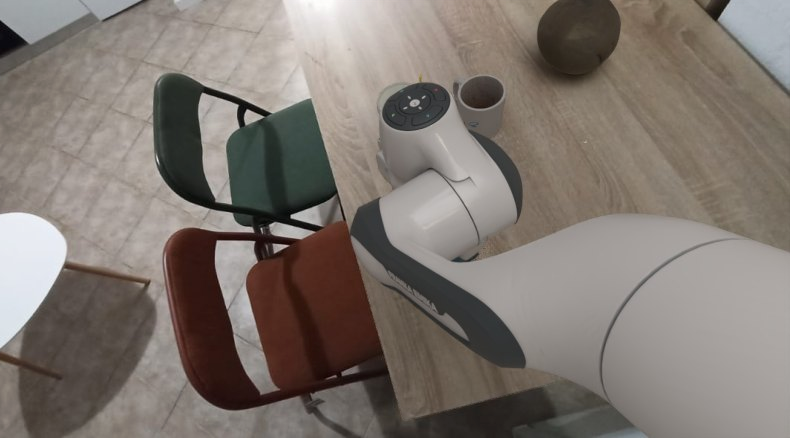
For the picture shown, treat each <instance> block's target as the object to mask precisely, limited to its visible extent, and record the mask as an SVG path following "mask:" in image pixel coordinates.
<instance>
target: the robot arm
mask: <svg viewBox="0 0 790 438" xmlns="http://www.w3.org/2000/svg"><path fill="white" fill-rule="evenodd" d="M411 84H412V85H409V86H407V87H405V88H403V89H401V90H399V91H398V92H396V93H394V94H393V95H392V96H390V97H389V98H388V99H387V100H386V102H385V103H384V105H383V107H382V109H381V112H380V115H379V117H378V133H379V137H378V139H377V141H376V142H377V145H378V148H379V151H378V152H377V153H376V155H375V161H376V166H377V170H378V172H379V174H380V175H381V176H382V177H383V179H384V180H385V181H386V182H387V183H389V185H390V187H391V191H390V192H388V193H386V194H384V195H382V196H379V197H377V198H375V199H373V200H371V201H369V202H366V203H364V204H362V205H361V206H358V207H357V210H356V212H355V214H354V217H353V220H352V222H351V226H350V230H349V238H350V242H351V246H352V249H353V252H354V253H355V255H356V257H357V259H358V261H359V263H360V264H361V266H362V267H363V268H364V269H365V271H366V272H367V273H368V274H369V275H370V276H371V277H372V278H373V279H375V280H376V281H378V282H379V283H380V284H381V285H382V286H383V287H385V288H387V289H389V290H392V291H394V292H396V293H397V294H398V295H400V296H401V297H403V298H404V299H405V300H407V301H408V302H409V303H410V304H412V306H414V307H415V308H416V309H418V310H419V311H420V312H421V313H422V314H424V315H425V316H426V317H428V319H430V320H431V321H432V322H433V323H435V324H436V325H437V326H438V327H440V328H441V329H442V330H444V331H445V332H446V333H448V334H449V335H450V336H451V337H452V338H454V339H455V340H456V341H458V342H459V343H461V344H462V345H464V346H465V347H466V348H467V349H469V350H470V351H472V352H473V353H474V354H476V355H478V356H479V357H481V358H482V359H484V360H485V361H488V362H489V363H491V364H493V365H494V366H496V367H499V368H502V369H528V370H534V371H538V372H541V373H545V374H550V375H551V376H552V375H553V376H555V377H559V378H561V379H564V380H566V381H569V382H572V383H573V384H576V385H578V386H580V387H583V388H584V389H586V390H589V391H590V392H592V393H593V394H595V395H597V396H598V397H600V398H602V399H603V400H604V401H606V402H607V403H609V404H610V405H611V406H612V407H613V408H614V409H616V411H617V412H618V413H619V414H620V415H622V416H623V417H624V418H625V419H626V420H628V421H629V422H630V423H631V424H632V425H633V426H635V428H637V430H638V431H640V432H641V433H643V434H644V435H645V436H646V437H647V438H790V251H787V250H784V249H782V248H779V247H776V246H773V245H770V244H767V243H764V242H761V241H759V240H755V239H753V238H750V237H746V236H743V235H740V234H738V233H736V232H735V233H734V232H731V231H729V230H726V229H723V228H720V227H717V226H714V225H711V224H708V223H704V222H701V221H696V220H693V219H688V218H683V217H677V216H671V215H668V216H667V215H662V214H648V213H636V212H635V213H632V212H627V213H626V212H625V213H624V212H623V213H611V214H606V215H601V216H596V217H593V218H588V219H586V220H585V219H584V220H583V221H580V222H577V223H574V224H572V225H570V226H567V227H564V228H562V229H560V230H557V231H554V232H552V233H550V234H548V235H546V236H543V237H540V238H538V239H536V240H534V241H531V242H528V243H526V244H522V245H521V246H520V245H519V246H518V247H515V248H512V249H510V250H506V251H505V252H504V251H503V252H501V253H498V254H496V255H492V256H489V257H486V258H482V259H477V260H471V261H470V262H462V263H458V262H451V261H452V260H453V259H455V258H457V257H458V256H459V257H460V258H461V259H463V260H468V259H469V258H471V257H472V256H474V255H475V254H476V253H478V252H479V253H480V251H481V250H482V249H484V247H485V245H486V243H487V241H489V240H490V239H493V238H494V237H495V236H497V235H500V233H503V232H504V231H506V230H507V229H509V228H510V227H512V226H514V225H516V224H517V223H518V221H519V219H520V217H521V215H522V209H523V203H524V202H523V198H524V192H523V191H524V189H523V182H522V181H523V180H522V178H521V175H520V172H519V169H518V168H517V166H516V164H515V162H514V161H513V159H512V158H511V157H510V155H508V153H507V152H506V151H505V150H504V149H503V148H502V147H501V146H500V145H499V144H497V143H496V142H495V141H493V140H492V139H491V138H487V137H485V136H483V135H481V134H479V133H477V132H474V131H472V130H468V129H467V128H466V126H465V125H464V123H463V121H462V119H461V116H460V114H459V111H458V104H457V101H456V99H455V97H454V95H452V93H451V92H450V91H449V90H448V89H447V88H446V87H445V86H444V85H441V84H440V83H435V82H428V81H424V82H423V81H422V83H419V82H416V83H411Z"/></svg>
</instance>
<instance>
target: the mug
mask: <svg viewBox="0 0 790 438" xmlns="http://www.w3.org/2000/svg"><path fill="white" fill-rule="evenodd" d="M459 85H460V86H459ZM452 93H453V98H454V100H455V102H456V104H457V108H458V111H459V114H460V116H461V119H462V121H463V123H464V125H465V126H466V128H467V129H468V130H472V131H474V132H477V133H479V134H481V135H483V136H485V137H487V138H489V139H491V138H493V137H494V136H495V135H497V134H498V132H499V131H500V129H501V127H502V122H503V116H504V108H505V101H506V96H507V87H506V84H505V83H504V81H503V80H502V79H501V78H500V77H498V76H495V75H492V74H486V73H481V74H475V75H472V76H470V77H468V78H466V79H465V78H464V77H458V78H455V79H454V81H453V83H452Z"/></svg>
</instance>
